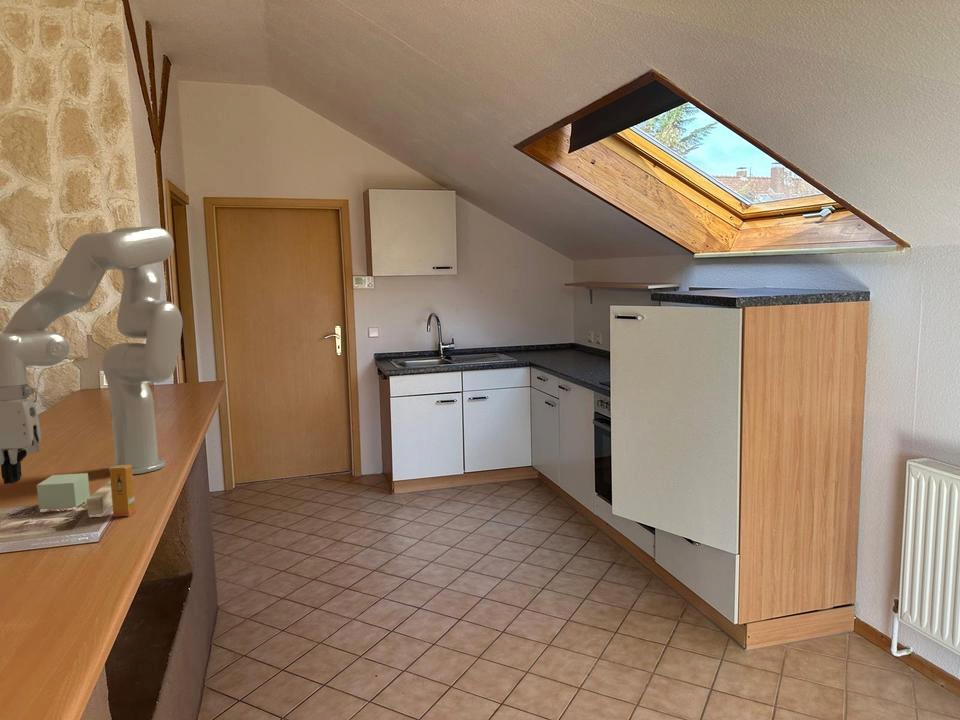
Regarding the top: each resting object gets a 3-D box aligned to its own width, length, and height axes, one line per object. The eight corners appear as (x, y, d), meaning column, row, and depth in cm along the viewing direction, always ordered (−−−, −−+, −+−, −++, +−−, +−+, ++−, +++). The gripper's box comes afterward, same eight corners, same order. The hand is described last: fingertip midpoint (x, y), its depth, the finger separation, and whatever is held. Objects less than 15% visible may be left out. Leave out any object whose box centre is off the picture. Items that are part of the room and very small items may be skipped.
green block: (55, 502, 145) (52, 475, 144) (90, 499, 146) (87, 473, 145) (39, 513, 138) (36, 485, 137) (76, 510, 139) (73, 482, 138)
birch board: (121, 490, 152) (120, 472, 152) (133, 489, 153) (132, 472, 152) (88, 518, 134) (86, 498, 134) (101, 517, 135) (100, 497, 134)
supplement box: (137, 511, 138) (133, 463, 137) (129, 516, 135) (125, 468, 134) (120, 511, 138) (116, 464, 137) (112, 517, 135) (107, 468, 133)
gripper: (53, 390, 142) (59, 475, 144) (-24, 392, 140) (-18, 478, 142) (36, 395, 135) (42, 485, 137) (-47, 397, 133) (-39, 488, 134)
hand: (12, 481), depth 139 cm, fingers closed
